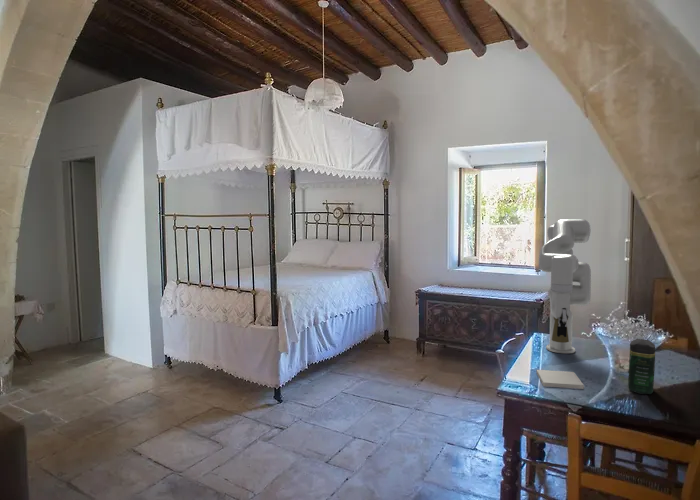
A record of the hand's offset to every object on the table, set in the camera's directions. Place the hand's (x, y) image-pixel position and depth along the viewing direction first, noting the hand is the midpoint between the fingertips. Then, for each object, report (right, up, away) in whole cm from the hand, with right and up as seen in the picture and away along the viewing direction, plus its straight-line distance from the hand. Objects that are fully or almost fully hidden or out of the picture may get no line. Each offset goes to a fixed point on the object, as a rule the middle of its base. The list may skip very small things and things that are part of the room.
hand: (560, 334), depth 171 cm
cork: (0, -2, 0) cm, 2 cm away
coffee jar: (+26, -19, -8) cm, 33 cm away
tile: (0, -18, +1) cm, 18 cm away
